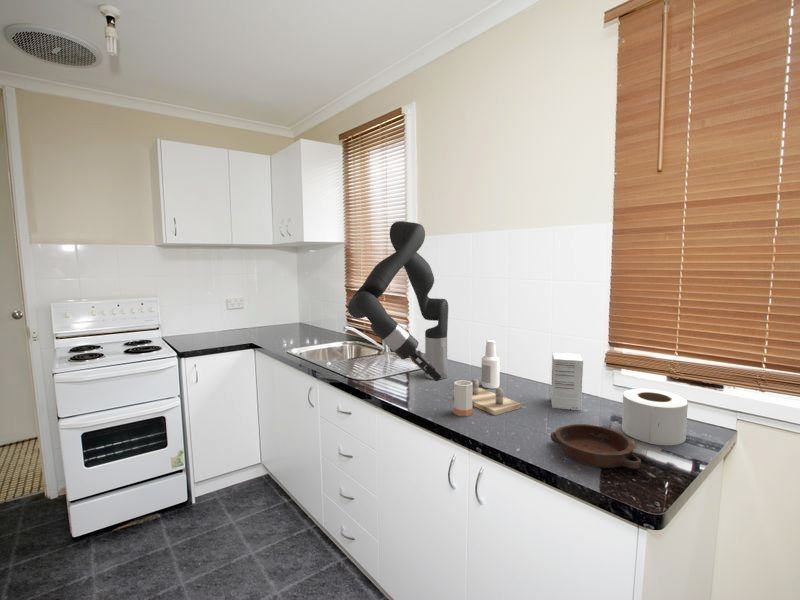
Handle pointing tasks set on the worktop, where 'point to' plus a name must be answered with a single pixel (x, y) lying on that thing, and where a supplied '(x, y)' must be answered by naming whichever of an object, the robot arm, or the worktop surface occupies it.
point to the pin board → (491, 400)
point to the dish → (596, 446)
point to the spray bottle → (490, 366)
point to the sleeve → (463, 398)
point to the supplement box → (566, 381)
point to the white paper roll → (654, 416)
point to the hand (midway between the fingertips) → (436, 375)
